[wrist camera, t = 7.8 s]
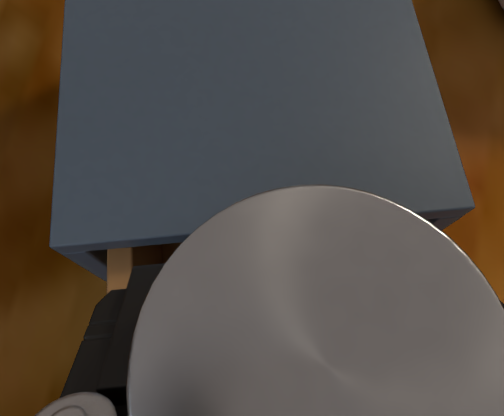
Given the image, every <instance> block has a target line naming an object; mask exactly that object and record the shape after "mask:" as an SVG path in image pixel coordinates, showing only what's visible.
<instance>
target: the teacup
mask: <svg viewBox="0 0 504 416" xmlns="http://www.w3.org/2000/svg"><path fill="white" fill-rule="evenodd" d="M498 1H499V3H500V4H501V6H502V8H503V9H504V0H498Z"/></svg>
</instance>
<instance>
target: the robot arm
mask: <svg viewBox="0 0 504 416" xmlns="http://www.w3.org/2000/svg"><path fill="white" fill-rule="evenodd" d="M164 264H165V263H162V264H152V265H141V266H134V267H133V268H132V271H131V274H130V278H129V281H128V284H127V288H126V289H117V290H111V291H110V292H109V293H108V294H107V295H106V296H105V297H104V298H103V299H102V300H101V301H100V302H99V303H98V304H97V305H96V306H95V309H94V312H93V314H92V317H91V319H90V322H89V326H88V327H87V329H86V332H85V335H84V341H82V342H81V345H80V347H79V350H78V353H77V355H76V358H75V360H74V363H73V365H72V368H71V370H70V373H69V376H68V378H67V381H66V383H65V386H64V388H63V391H62V393H61V396H60V398H59V399H57V400H55V401H53V402H52V403H50V404H48V405H47V406H46V407H44V408H43V409H41V410H40V411H39V412H38V413H37V414H36V415H35V416H128V415H127V399H126V380H127V364H128V357H129V351H130V346H131V341H132V335H133V331H134V328H135V325H136V322H137V319H138V316H139V313H140V309H141V307H142V305H143V302H144V300H145V298H146V296H147V294H148V292H149V289H150V287H151V285H152V283H153V282H154V280H155V278H156V277H157V275H158V274H159V272H160V270H161V269H162V267H163V265H164ZM500 302H501V301H500ZM501 304H502V306H503V308H504V304H503V303H502V302H501Z"/></svg>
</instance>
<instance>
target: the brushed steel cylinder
mask: <svg viewBox="0 0 504 416" xmlns="http://www.w3.org/2000/svg"><path fill="white" fill-rule="evenodd" d="M126 399H127V415H128V416H504V308H503V306H502V304H501V302H500V300H499V298H498V296H497V295H496V293H495V292H494V290H493V289H492V287H491V286H490V284H489V282H488V281H487V279H486V278H485V276H484V275H483V273H482V272H481V271H480V270H479V268H478V267H477V266H476V265H475V264H474V262H473V261H472V260H471V259H470V257H469V256H468V255H467V254H466V253H465V252H464V251H463V250H462V249H461V248H460V247H459V246H458V245H457V244H456V243H455V242H454V241H453V240H452V239H451V238H450V237H449V236H448V235H446V234H445V233H444V232H443V231H441V230H440V229H439V228H437V227H436V226H435V225H434V224H432V223H431V222H430V221H428V220H427V219H425V218H423V217H422V216H420V215H419V214H417V213H415V212H414V211H412V210H411V209H409V208H407V207H405V206H403V205H400V204H398V203H396V202H394V201H392V200H390V199H388V198H385V197H382V196H379V195H376V194H373V193H370V192H367V191H363V190H358V189H354V188H349V187H345V186H334V185H324V184H316V185H296V186H289V187H282V188H276V189H273V190H269V191H265V192H262V193H258V194H255V195H253V196H250V197H248V198H245V199H243V200H240V201H238V202H236V203H234V204H232V205H230V206H229V207H227V208H225V209H223V210H222V211H220V212H218V213H216V214H215V215H213V216H212V217H211V218H209V219H208V220H207V221H205V222H204V223H203V224H201V225H200V226H199V227H197V228H196V229H195V230H194V231H193V232H192V233H191V234H190V235H189V236H188V237H187V238H186V239H185V240H184V241H183V242H182V243H181V244H180V245H179V246H178V247H177V249H176V250H175V251H174V252H173V254H172V255H171V256H170V257H169V259H168V260H167V261H166V262H165V264H164V265H163V267H162V269H161V270H160V272H159V274H158V275H157V277H156V278H155V280H154V282H153V283H152V285H151V287H150V289H149V292H148V294H147V296H146V298H145V300H144V302H143V305H142V307H141V309H140V313H139V316H138V319H137V322H136V325H135V328H134V331H133V335H132V341H131V346H130V351H129V357H128V364H127V380H126Z"/></svg>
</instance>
